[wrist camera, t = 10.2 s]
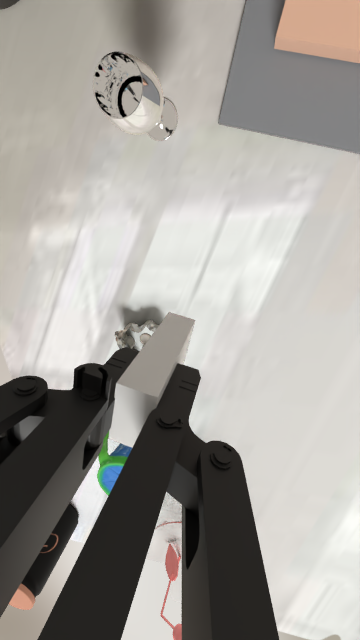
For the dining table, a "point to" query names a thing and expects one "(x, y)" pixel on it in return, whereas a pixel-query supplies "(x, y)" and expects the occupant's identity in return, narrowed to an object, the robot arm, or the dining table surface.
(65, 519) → the coffee jar
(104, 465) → the snack cup
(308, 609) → the dining table surface
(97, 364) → the robot arm
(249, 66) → the mat
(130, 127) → the wineglass
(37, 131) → the dining table surface
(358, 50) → the peach rectangular block
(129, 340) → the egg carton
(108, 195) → the dining table surface
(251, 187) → the dining table surface
